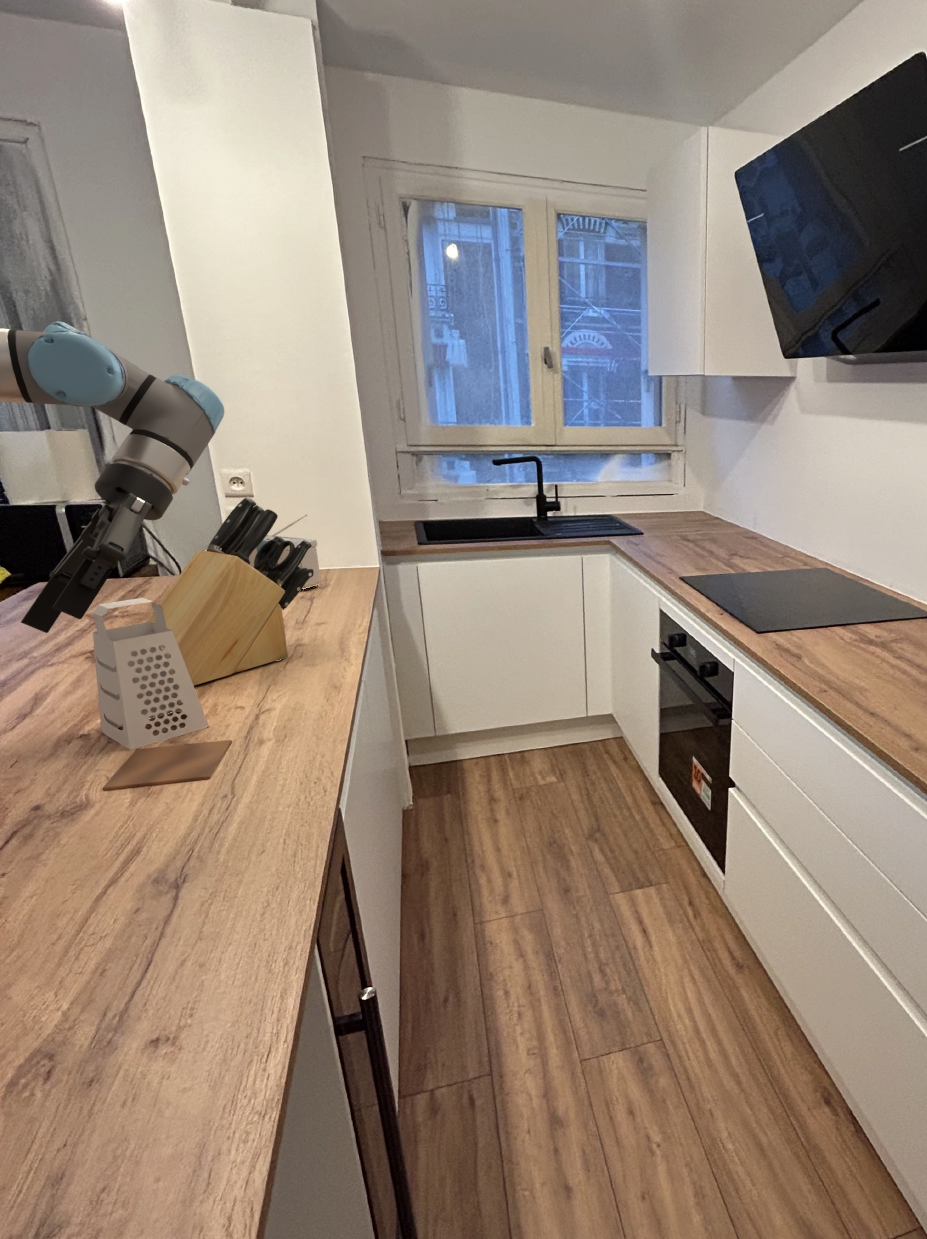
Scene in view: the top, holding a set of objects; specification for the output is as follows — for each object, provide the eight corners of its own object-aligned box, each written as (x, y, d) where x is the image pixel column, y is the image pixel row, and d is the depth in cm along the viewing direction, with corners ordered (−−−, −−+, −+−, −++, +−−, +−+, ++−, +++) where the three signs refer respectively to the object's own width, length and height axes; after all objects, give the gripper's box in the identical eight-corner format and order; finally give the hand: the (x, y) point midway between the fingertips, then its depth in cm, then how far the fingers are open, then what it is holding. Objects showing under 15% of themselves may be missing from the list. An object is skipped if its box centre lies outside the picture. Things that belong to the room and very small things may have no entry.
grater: (209, 727, 113) (183, 602, 106) (130, 750, 105) (96, 616, 98) (178, 710, 118) (152, 591, 112) (101, 731, 110) (67, 603, 104)
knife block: (331, 646, 152) (309, 496, 142) (153, 701, 122) (109, 515, 111) (294, 639, 156) (270, 492, 146) (113, 690, 126) (67, 509, 116)
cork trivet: (102, 790, 94) (102, 787, 94) (136, 751, 104) (136, 748, 104) (209, 778, 97) (209, 776, 97) (232, 742, 108) (231, 739, 108)
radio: (243, 585, 201) (230, 512, 195) (268, 579, 209) (256, 509, 202) (302, 592, 195) (291, 517, 189) (326, 586, 203) (316, 514, 196)
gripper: (211, 475, 89) (121, 623, 81) (140, 517, 104) (56, 646, 95) (145, 434, 84) (41, 587, 76) (80, 484, 99) (-14, 618, 90)
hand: (49, 621), depth 85 cm, fingers open, 13 cm apart
